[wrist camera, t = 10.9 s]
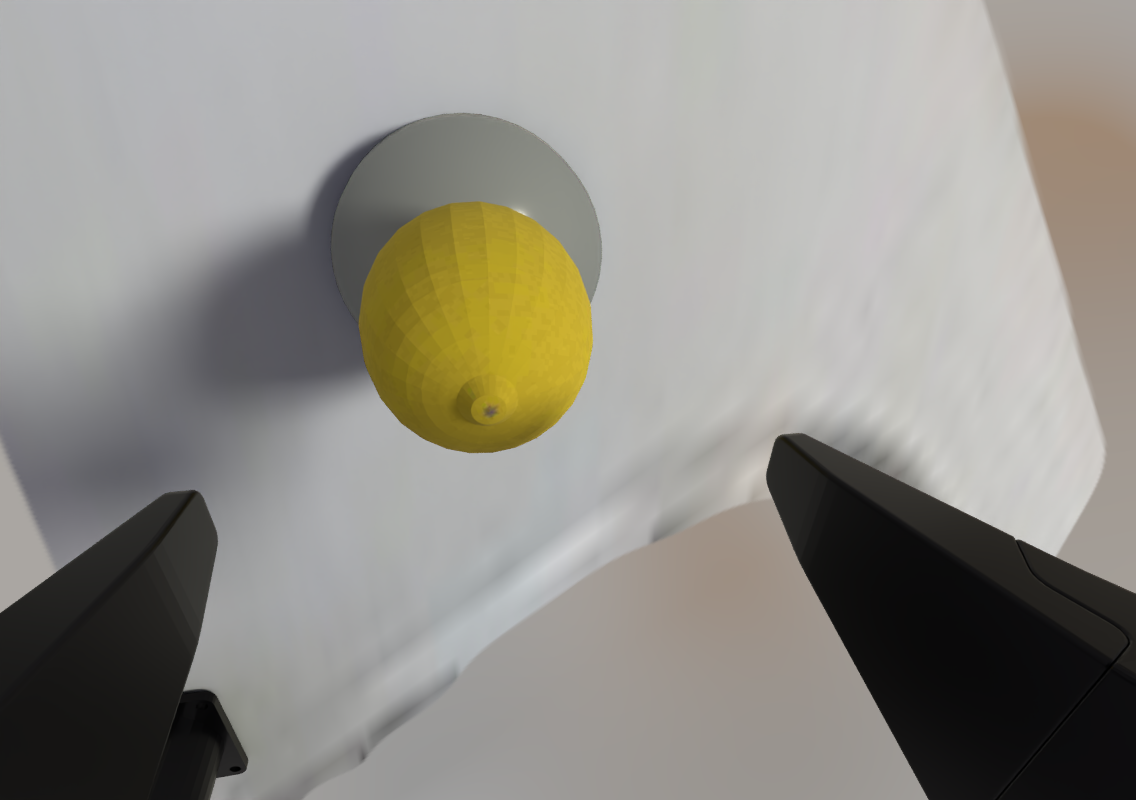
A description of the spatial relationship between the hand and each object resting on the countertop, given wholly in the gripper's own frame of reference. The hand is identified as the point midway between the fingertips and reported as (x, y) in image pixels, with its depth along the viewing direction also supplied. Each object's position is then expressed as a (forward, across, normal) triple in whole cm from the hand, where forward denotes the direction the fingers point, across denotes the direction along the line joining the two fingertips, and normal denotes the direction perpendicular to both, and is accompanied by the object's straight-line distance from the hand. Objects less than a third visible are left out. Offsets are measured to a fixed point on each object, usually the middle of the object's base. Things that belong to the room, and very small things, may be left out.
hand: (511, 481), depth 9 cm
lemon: (+10, 0, 0) cm, 11 cm away
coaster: (+11, 0, 0) cm, 11 cm away
